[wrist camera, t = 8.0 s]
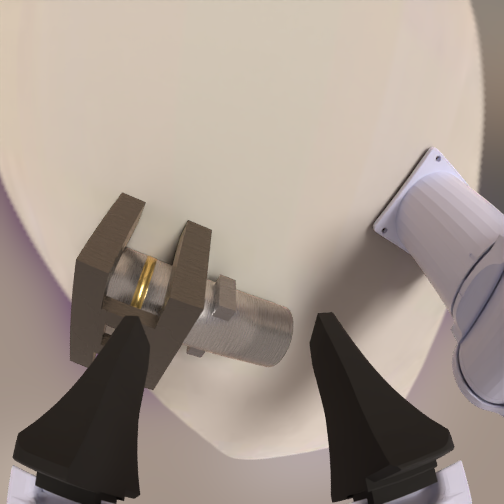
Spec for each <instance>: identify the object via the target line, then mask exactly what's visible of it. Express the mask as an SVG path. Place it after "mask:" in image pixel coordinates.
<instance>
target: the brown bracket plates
mask: <svg viewBox="0 0 504 504" xmlns="http://www.w3.org/2000/svg"><path fill="white" fill-rule="evenodd" d="M145 203H146V202H144V201H141V200H139V199H136V198H134V197H132V196H129V195H127V194H124V193H122V194H121V195H120V196H119V198H118V199H117V200H116V202H115V203H114V204H113V206H112V207H111V208H110V210H109V211H108V213H107V214H106V215H105V217H104V218H103V220H102V221H101V223H100V224H99V225H98V227H97V228H96V230H95V231H94V233H93V234H92V236H91V237H90V239H89V240H88V242H87V243H86V245H85V246H84V248H83V249H82V251H81V253H80V254H79V256H78V257H77V259H76V265H75V273H74V282H73V293H72V306H71V326H70V360H71V361H73V362H75V363H77V364H80V365H82V366H85V367H87V368H88V367H89V366H90V365H91V363H92V362H93V361H94V359H95V356H96V353H98V354H99V352H100V351H101V350H102V348H103V347H104V345H105V344H106V342H107V341H108V340H109V338H110V337H111V335H109V334H106V333H105V329H106V325H108V326H110V327H113V328H115V329H116V328H117V326H118V325H119V323H120V322H121V320H122V319H123V317H124V316H125V315H126V316H139V318H140V321H141V323H142V326H143V329H144V331H145V334H146V336H147V339H148V341H149V344H150V356H149V366H148V372H147V377H146V382H145V386H144V387H145V388H148V389H151V390H154V388H155V386H156V385H157V383H158V382H159V380H160V378H161V377H162V375H163V374H164V372H165V370H166V369H167V367H168V366H169V364H170V362H171V361H172V359H173V358H174V356H175V354H176V353H177V351H178V350H179V348H180V346H181V345H182V343H183V342H184V340H185V338H186V337H187V335H188V334H189V332H190V331H191V329H192V327H193V326H194V324H195V323H196V321H197V319H198V318H199V316H200V315H201V313H202V312H203V310H204V303H205V292H206V281H207V271H208V261H209V251H210V242H211V233H212V230H210V229H208V228H206V227H203V226H201V225H198V224H196V223H194V222H191V221H189V220H188V221H187V224H186V226H185V228H184V230H183V232H182V234H181V236H180V239H179V243H178V246H177V250H176V254H175V258H174V262H173V266H172V270H171V274H170V278H169V282H168V286H167V291H166V295H165V299H164V303H163V305H162V308H161V310H160V312H159V314H158V315H155V314H152V313H150V312H147V311H144V310H142V309H139V308H136V307H134V306H131V305H128V304H126V303H123V302H121V301H118V300H116V299H113V298H111V297H108V296H106V295H107V290H108V286H109V282H110V280H111V277H112V275H113V273H114V271H115V268H116V266H117V264H118V262H119V260H120V258H121V256H122V254H123V252H124V249H125V247H126V245H127V243H128V241H129V239H130V237H131V235H132V233H133V231H134V229H135V228H136V226H137V224H138V222H139V219H140V217H141V214H142V211H143V208H144V206H145Z"/></svg>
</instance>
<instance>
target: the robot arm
mask: <svg viewBox="0 0 504 504" xmlns="http://www.w3.org/2000/svg"><path fill="white" fill-rule="evenodd" d="M437 156H438V159H437V160H436V157H437ZM383 228H385V230H383V231H382V229H383ZM373 229H374V230H375V232H376V233H378V234H379V235H381V236H383V237H384V238H386V239H387V240H389V241H390V242H392V243H393V244H395V245H396V246H398V247H399V248H401V249H403V250H404V251H406V252H407V253H409V254H410V255H411V256H412V257H413V258H414V260H415V261H416V262H417V264H418V265H419V267H420V268H421V269H422V271H423V272H424V274H425V275H426V277H427V278H428V280H429V281H430V283H431V284H432V286H433V287H434V289H435V290H436V292H437V293H438V295H439V296H440V298H441V299H442V301H443V303H444V304H445V306H446V307H447V309H448V311H449V312H450V314H451V315H452V317H453V318H454V324H453V326H452V328H451V331H452V333H453V335H454V337H455V338H456V340H457V342H458V343H457V345H456V347H455V350H454V352H453V358H452V367H453V374H454V377H455V380H456V382H457V385H458V387H459V389H460V390H461V392H462V393H463V394H464V396H465V397H466V398H467V399H468V400H469V401H470V402H471V403H472V404H474V405H475V406H477V407H479V408H481V409H483V410H487V411H492V412H495V413H498V414H500V415H501V416H503V417H504V214H502V213H501V212H500V211H499V210H498V209H497V208H495V207H494V206H493V205H492V204H491V203H489V202H488V201H487V200H486V199H485V198H483V197H482V196H481V195H480V194H478V193H477V192H476V191H474V190H473V189H472V188H470V186H469V185H468V184H467V183H466V181H465V180H464V179H463V178H462V176H461V175H460V174H459V173H458V172H457V170H456V169H455V168H454V167H453V166H452V165H451V163H450V162H449V161H448V160H447V159H446V158H445V157H444V156H443V154H442V153H441V152H440V151H439V150H438V149H436V148H435V147H431V148H429V149H428V151H427V152H426V154H425V155H424V157H423V158H422V160H421V161H420V162H419V164H418V165H417V167H416V168H415V169H414V171H413V172H412V174H411V175H410V176H409V178H408V179H407V181H406V182H405V183H404V185H403V186H402V187H401V189H400V190H399V191H398V193H397V194H396V195H395V197H394V198H393V199H392V201H391V202H390V203H389V205H388V206H387V207H386V208H385V210H384V211H383V212H382V214H381V215H380V216H379V217H378V219H377V220H376V221H375V223H374V224H373ZM310 350H311V358H312V365H313V369H314V373H315V377H316V381H317V385H318V388H319V392H320V396H321V400H322V404H323V408H324V412H325V417H326V425H327V433H328V442H329V452H330V468H331V498H332V502H338V501H342V500H346V499H350V498H353V500H354V502H352V503H348V504H472V499H471V495H470V491H469V487H468V482H467V479H466V475H465V471H464V468H463V464H462V461H458V462H456V463H454V464H452V465H450V466H448V467H446V468H444V469H442V470H440V471H438V472H435V469H434V468H435V467H437V462H436V459H438V458H440V457H442V456H444V455H445V454H447V453H448V452H450V451H452V450H453V449H454V444H453V441H452V437H451V435H450V432H449V430H448V429H447V428H445V427H443V426H442V425H440V424H438V423H437V422H435V421H433V420H432V419H430V418H429V417H427V416H426V415H425V414H423V413H422V412H420V411H419V410H418V409H417V408H415V407H414V406H413V405H412V404H410V403H409V402H408V401H407V400H406V399H404V398H403V397H402V396H401V395H400V394H399V393H398V392H397V391H395V390H394V389H393V388H392V387H391V386H390V385H389V384H388V383H387V382H386V381H385V380H384V379H383V377H382V376H381V375H380V374H379V373H378V372H377V371H376V370H375V369H374V367H373V366H372V365H371V364H370V363H369V361H368V360H367V359H366V358H365V357H364V355H363V354H362V353H361V351H360V350H359V349H358V347H357V346H356V345H355V344H354V342H353V341H352V339H351V338H350V337H349V335H348V334H347V332H346V331H345V330H344V328H343V327H342V325H341V324H340V322H339V321H338V319H337V318H336V316H335V315H334V314H333V313H332V312H330V313H318V315H317V318H316V322H315V326H314V329H313V333H312V337H311V340H310ZM149 356H150V344H149V341H148V339H147V336H146V334H145V331H144V329H143V326H142V323H141V321H140V318H139V316H126V315H125V316H124V317H123V319H122V320H121V322H120V323H119V325H118V326H117V328H116V329H115V331H114V332H113V334H112V335H111V337H110V338H109V340H108V341H107V342H106V344H105V345H104V347H103V348H102V350H101V351H100V352H99V354H98V355H97V357H96V358H95V359H94V361H93V362H92V363H91V365H90V366H89V367H88V369H87V370H86V371H85V372H84V374H83V375H82V376H81V377H80V379H79V380H78V381H77V382H76V383H75V384H74V386H73V387H72V388H71V389H70V390H69V391H68V392H67V393H66V394H65V395H64V396H63V397H62V398H61V399H60V401H58V402H57V403H56V404H55V405H54V406H53V407H52V408H51V409H50V410H49V411H47V412H46V413H45V414H44V415H43V416H42V417H40V418H39V419H38V420H37V421H35V422H34V423H33V424H31V425H30V426H28V427H27V428H25V429H24V430H23V431H21V432H20V433H19V434H18V436H17V440H16V445H15V449H14V454H13V459H14V460H15V461H17V462H19V463H21V464H23V465H25V466H27V467H29V468H31V469H33V470H35V471H37V476H35V475H32V474H30V473H28V472H26V471H24V470H22V469H20V468H18V467H16V466H14V465H13V466H12V470H11V475H10V481H9V489H8V496H7V504H116V502H117V500H122V501H124V497H129V498H136V497H138V496H139V495H140V489H139V479H138V462H137V437H138V419H139V412H140V407H141V401H142V396H143V391H144V386H145V382H146V377H147V372H148V366H149Z"/></svg>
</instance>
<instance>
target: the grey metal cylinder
mask: <svg viewBox="0 0 504 504" xmlns="http://www.w3.org/2000/svg"><path fill="white" fill-rule="evenodd" d="M171 270H172V265H169V264H167V263H164V262H162V261H159V260H157V259H155V258H153V257H150V256H147V255H144V254H142V253H139V252H137V251H135V250H132V249H130V248H127V247H125V249H124V252H123V254H122V256H121V258H120V260H119V262H118V264H117V266H116V268H115V271H114V273H113V275H112V277H111V280H110V282H109V286H108V290H107V295H106V296H108V297H111V298H113V299H116V300H118V301H121V302H123V303H126V304H128V305H131V306H134V307H136V308H139V309H142V310H144V311H147V312H150V313H152V314H155V315H158V314H159V312H160V310H161V308H162V305H163V303H164V299H165V295H166V291H167V286H168V282H169V278H170V274H171ZM292 334H293V317H292V314H291V312H290V310H289V309H288V308H287V307H284V306H281V305H278V304H275V303H272V302H270V301H267V300H264V299H261V298H258V297H255V296H252V295H250V294H247V293H244V292H241V291H239V290H236V280H233V279H231V278H228V277H225V276H223V275H220V276H219V278H218V279H217V281H216V282H214V281H211V280H209V279H207V281H206V292H205V303H204V310H203V312H202V313H201V315H200V316H199V318H198V319H197V321H196V323H195V324H194V326H193V327H192V329H191V331H190V332H189V334H188V335H187V337H186V338H185V340H184V342H183V343H182V344H183V345H186V346H187V354H190V355H194V356H197V357H202V355H203V354H204V353H205V351H206V352H210V353H213V354H217V355H221V356H225V357H228V358H232V359H236V360H240V361H244V362H248V363H252V364H256V365H261V366H265V367H272V366H274V365H276V364H277V363H279V362H280V361H281V359H282V358H283V357H284V355H285V353H286V352H287V350H288V347H289V345H290V342H291V338H292Z"/></svg>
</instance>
